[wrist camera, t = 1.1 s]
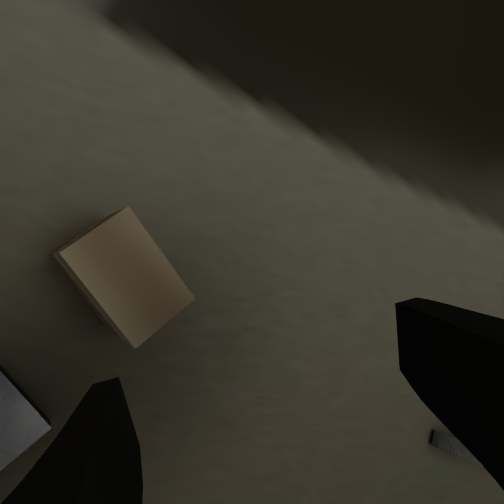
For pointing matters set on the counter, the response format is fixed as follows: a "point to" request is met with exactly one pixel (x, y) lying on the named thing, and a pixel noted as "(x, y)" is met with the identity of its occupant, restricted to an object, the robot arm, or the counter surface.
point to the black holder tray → (18, 420)
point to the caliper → (453, 446)
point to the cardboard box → (123, 277)
